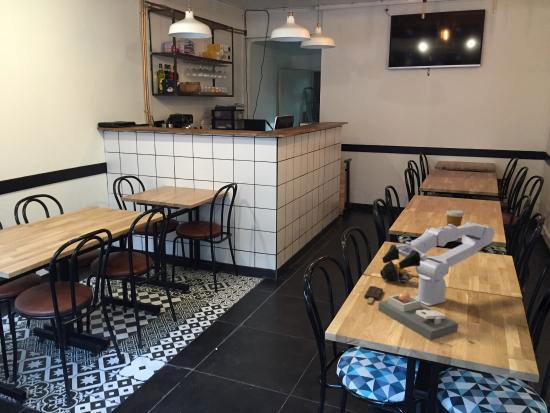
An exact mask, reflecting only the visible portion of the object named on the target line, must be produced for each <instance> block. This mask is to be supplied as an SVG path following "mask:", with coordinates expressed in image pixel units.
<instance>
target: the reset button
mask: <svg viewBox="0 0 550 413" xmlns="http://www.w3.org/2000/svg"><path fill="white" fill-rule="evenodd" d="M398 294H399V301H400V302H402V303H409V301H410V296H411V294H410V293H408V292H399V293H398Z"/></svg>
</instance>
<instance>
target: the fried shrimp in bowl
mask: <svg viewBox="0 0 550 413" xmlns="http://www.w3.org/2000/svg"><path fill="white" fill-rule="evenodd" d="M410 272H412V271H411V270H410V269H409V270H407V269H406V268H403V269H400V267H399V264H397V263H395V262H393V260H392V261H390V262H388V263H385V264H384V265H383V267H382V269H380V273H379V274H380V276H381V279H382V280H383V281H385V280H386V281H388V282H398V283H400V284H406V283H408V282H409V281H411V279H412V278H416V279H419V276H418V273H410Z"/></svg>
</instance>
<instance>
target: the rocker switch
mask: <svg viewBox="0 0 550 413" xmlns="http://www.w3.org/2000/svg"><path fill="white" fill-rule="evenodd" d="M416 314H418V315H420V316H422V317H423V318H425V319H435V318H436V317H441V319H445V317H447V316H446V315H445V314H444V313H441V312H439V311H437V310H436V309H435V310H434V309H431V310H416Z"/></svg>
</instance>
